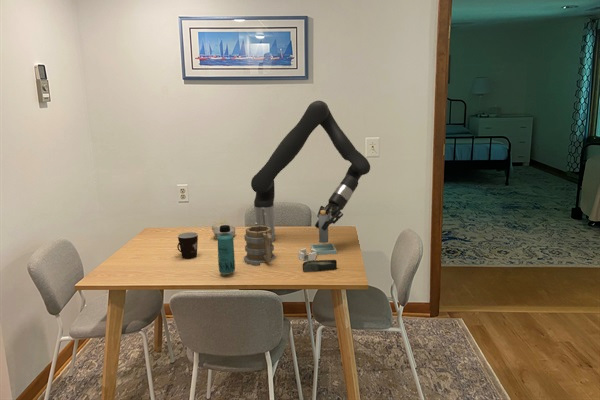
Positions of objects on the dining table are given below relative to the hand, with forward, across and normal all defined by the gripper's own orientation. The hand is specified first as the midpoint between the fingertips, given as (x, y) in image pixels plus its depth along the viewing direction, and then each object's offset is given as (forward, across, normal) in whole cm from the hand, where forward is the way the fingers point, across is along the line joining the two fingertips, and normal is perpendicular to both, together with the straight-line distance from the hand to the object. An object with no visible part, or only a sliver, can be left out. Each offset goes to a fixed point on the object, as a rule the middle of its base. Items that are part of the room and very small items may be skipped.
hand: (319, 228), depth 203 cm
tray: (+7, 0, +10) cm, 12 cm away
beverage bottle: (+39, -4, -22) cm, 45 cm away
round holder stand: (+15, +3, +2) cm, 15 cm away
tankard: (+26, -7, -10) cm, 29 cm away
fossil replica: (+24, -50, -7) cm, 55 cm away
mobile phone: (+18, +17, -2) cm, 25 cm away
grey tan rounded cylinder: (+3, 0, +6) cm, 7 cm away
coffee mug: (+42, -34, -26) cm, 60 cm away
